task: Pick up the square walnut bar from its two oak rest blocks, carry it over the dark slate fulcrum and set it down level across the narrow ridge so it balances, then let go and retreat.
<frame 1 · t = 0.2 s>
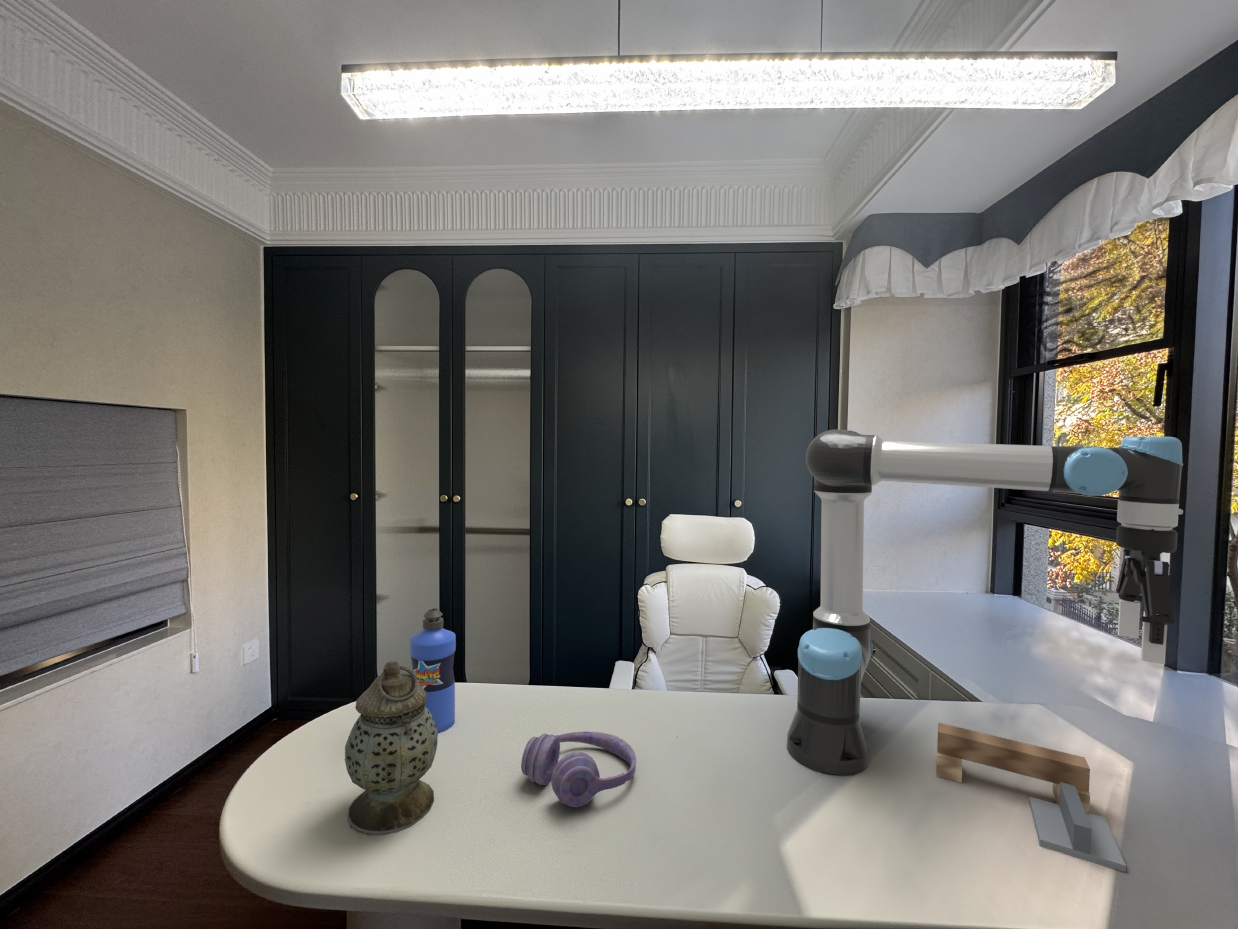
hand: (1139, 648, 94), 27 cm above the table, fingers open, 13 cm apart
lantern: (393, 808, 91), on the table
walnut bar: (1007, 765, 99), point 4 cm above the table, touching rest 2, rest 1
headphones: (583, 778, 101), on the table
rest 2: (1069, 804, 95), on the table
rest 1: (948, 771, 104), on the table
water bottle: (433, 724, 118), on the table
fulcrum: (1073, 834, 87), on the table
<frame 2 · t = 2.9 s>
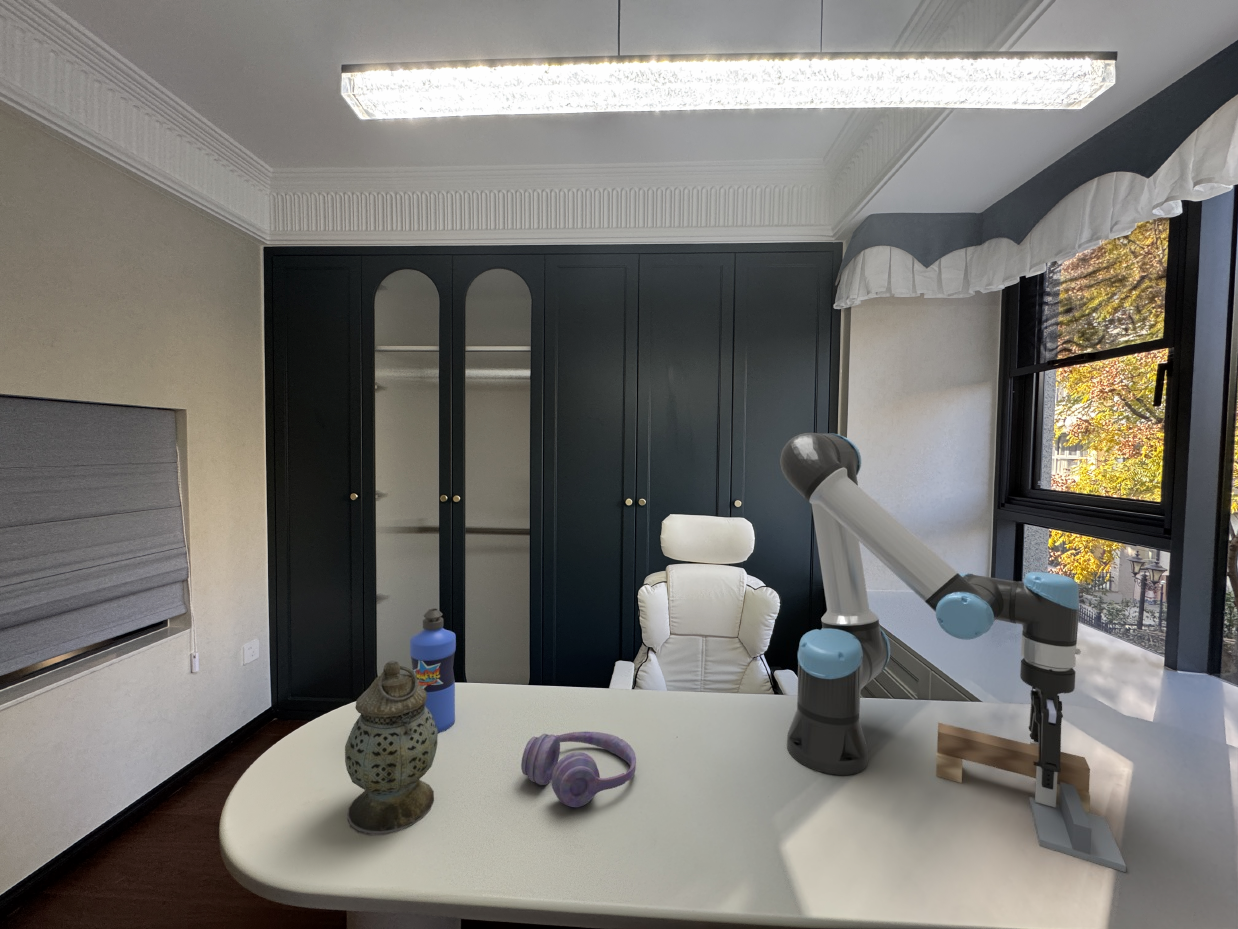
hand: (1041, 790, 96), 1 cm above the table, fingers open, 8 cm apart
nothing on the table moved.
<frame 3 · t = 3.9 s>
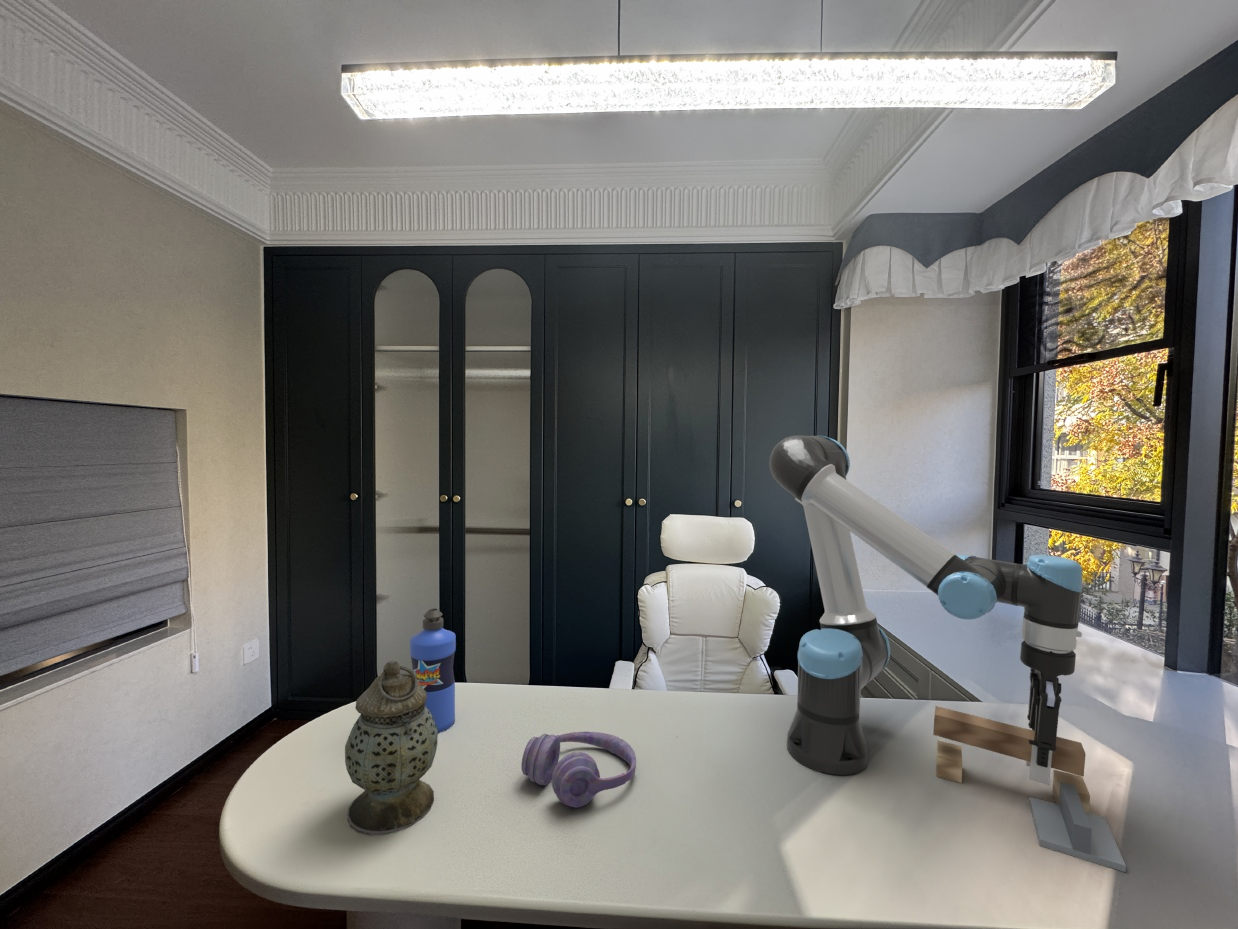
hand: (1037, 773, 97), 4 cm above the table, fingers closed on walnut bar, 4 cm apart
walnut bar: (1003, 749, 99), point 7 cm above the table, touching gripper
everything else where it was.
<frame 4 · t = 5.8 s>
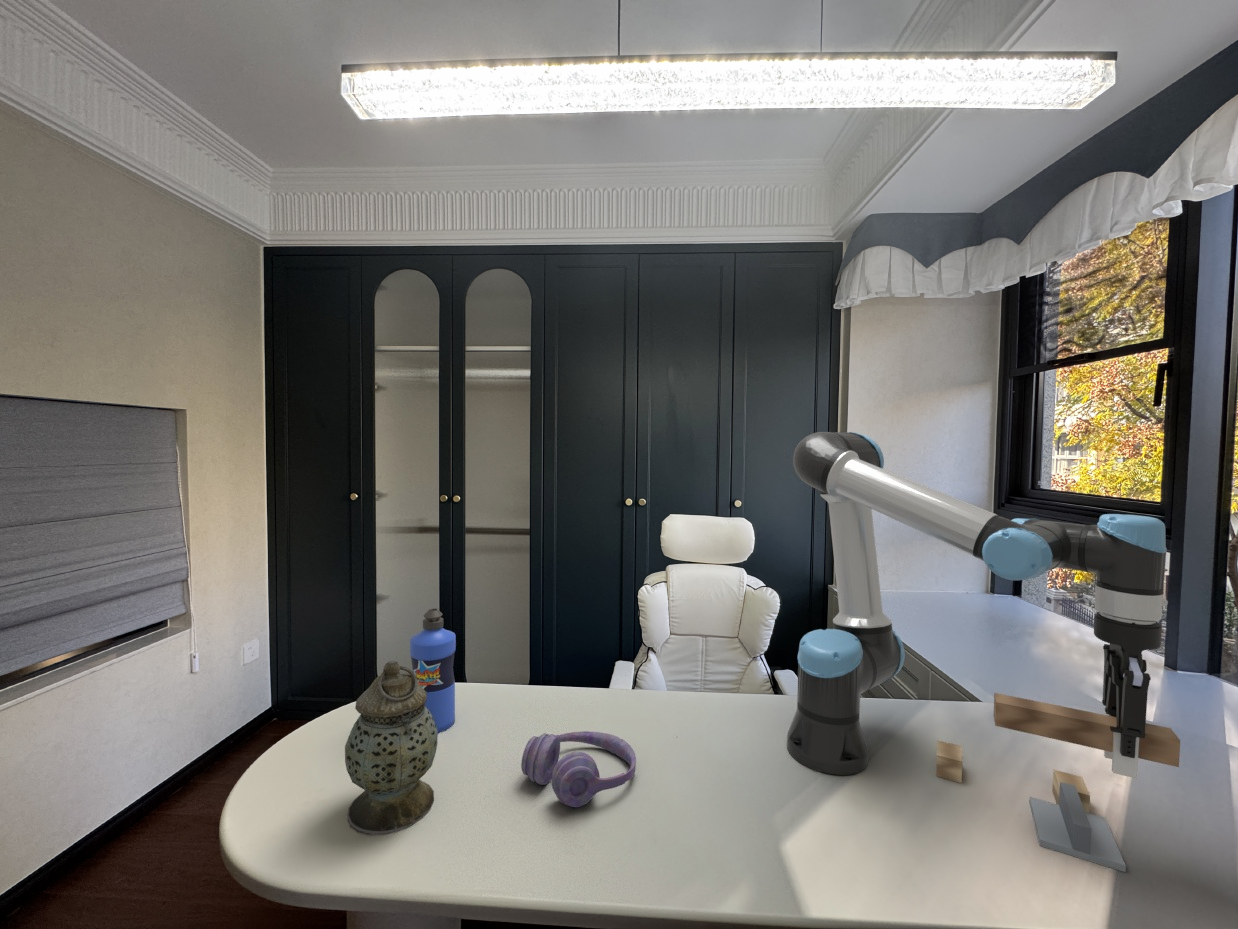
hand: (1119, 766, 84), 13 cm above the table, fingers closed on walnut bar, 4 cm apart
walnut bar: (1078, 739, 87), point 16 cm above the table, touching gripper
everything else where it was.
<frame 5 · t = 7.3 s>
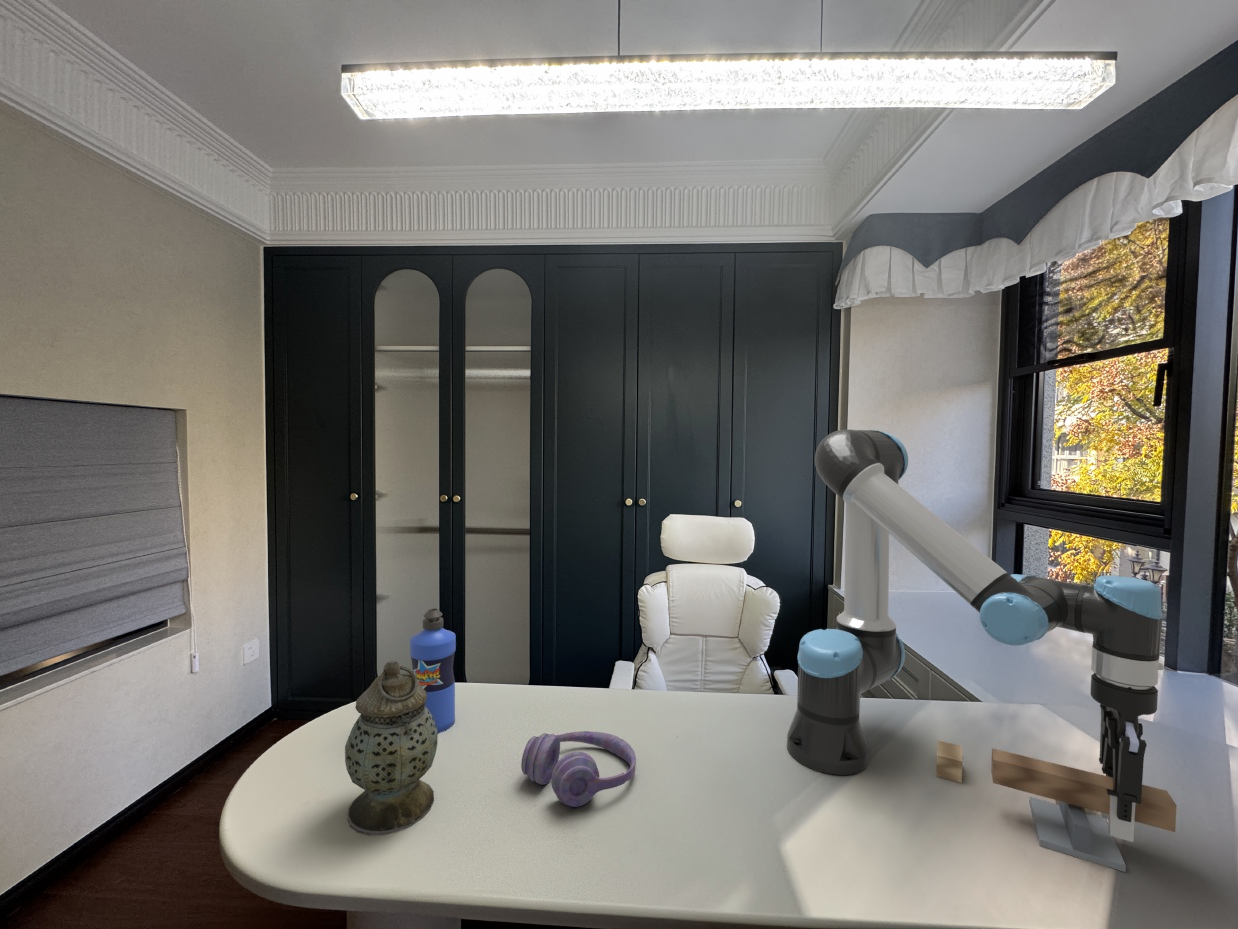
hand: (1116, 827, 85), 3 cm above the table, fingers closed on walnut bar, 4 cm apart
walnut bar: (1075, 799, 87), point 6 cm above the table, touching gripper
everything else where it was.
when the fingers open (2 cm above the table, at t = 7.8 s): walnut bar stays where it is, resting on fulcrum.
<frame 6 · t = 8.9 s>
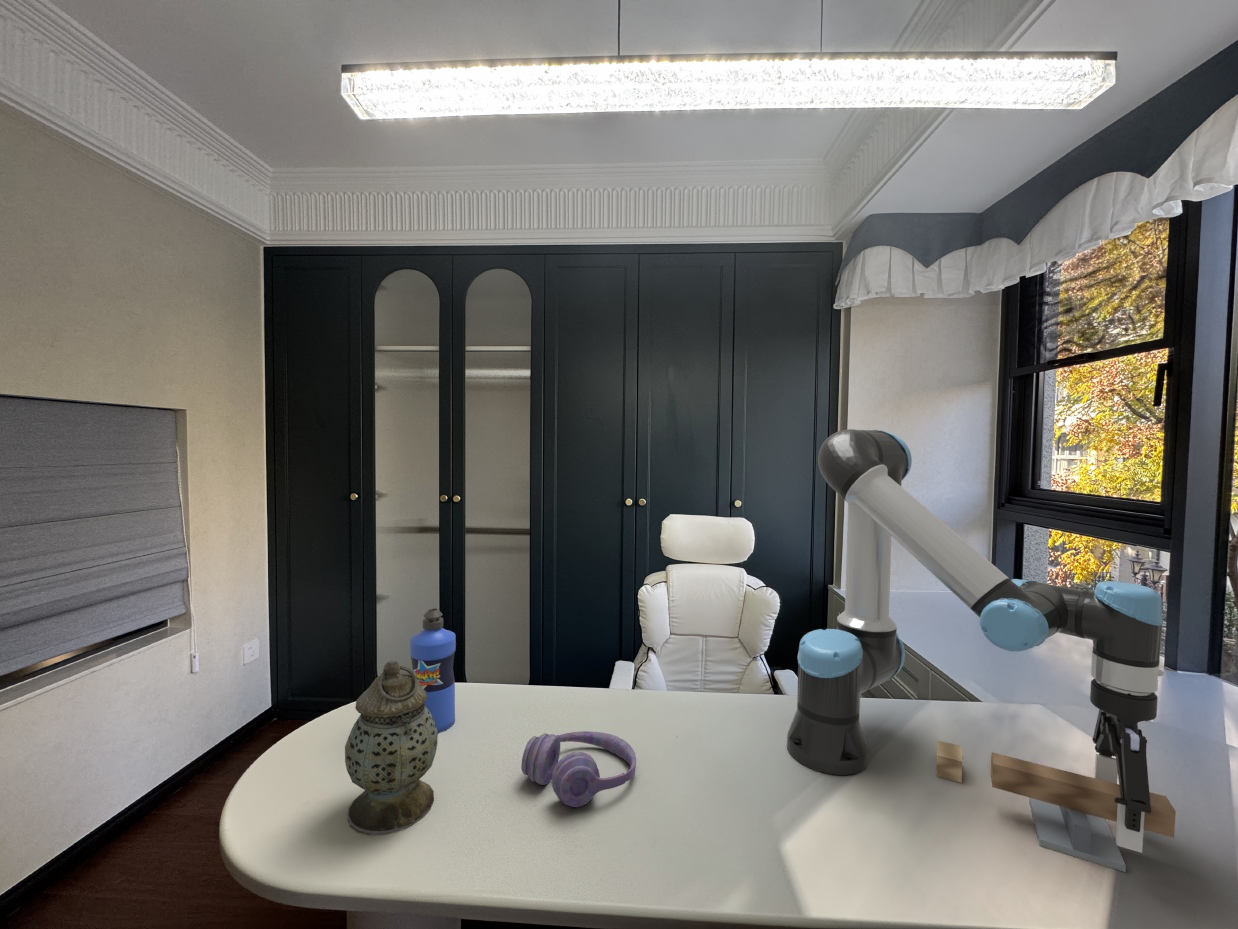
hand: (1115, 820, 85), 4 cm above the table, fingers open, 13 cm apart
walnut bar: (1074, 803, 87), point 5 cm above the table, touching fulcrum
everything else where it was.
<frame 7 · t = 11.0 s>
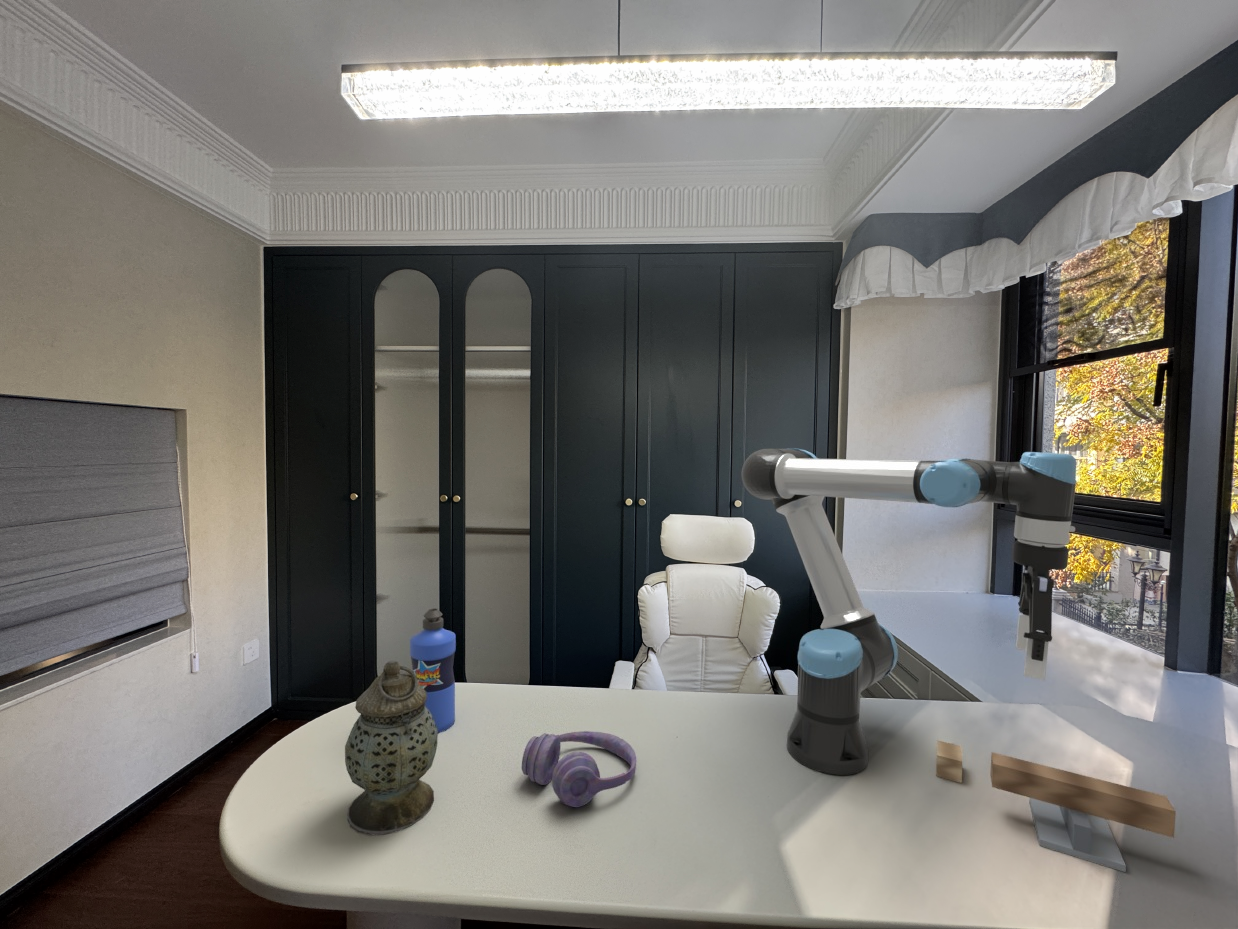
hand: (1029, 663, 95), 24 cm above the table, fingers open, 13 cm apart
nothing on the table moved.
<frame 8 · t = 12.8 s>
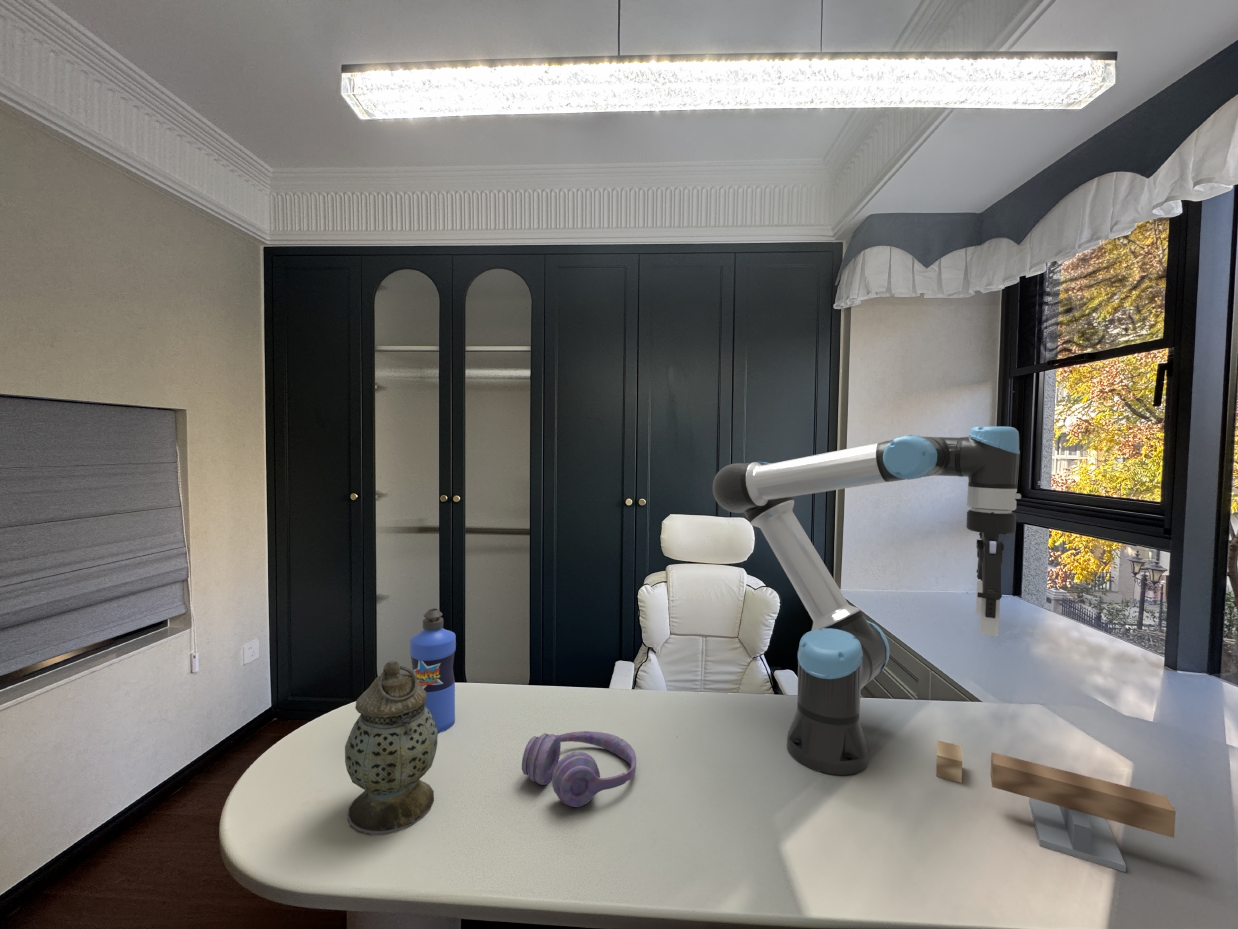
hand: (986, 624, 102), 29 cm above the table, fingers open, 13 cm apart
nothing on the table moved.
at the end: walnut bar 0.0 cm from the target spot, point 5.0 cm above the table; walnut bar tilted 0°; walnut bar touching fulcrum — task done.
